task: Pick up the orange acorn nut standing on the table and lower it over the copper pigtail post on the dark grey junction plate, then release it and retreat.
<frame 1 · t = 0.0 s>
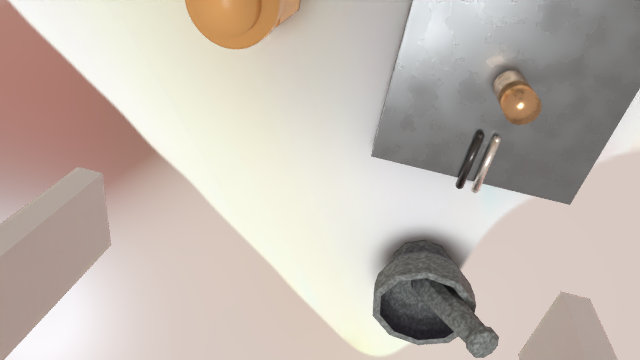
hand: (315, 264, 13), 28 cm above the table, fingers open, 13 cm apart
junction plate: (504, 77, 36), on the table
mortar and pestle: (427, 260, 47), on the table
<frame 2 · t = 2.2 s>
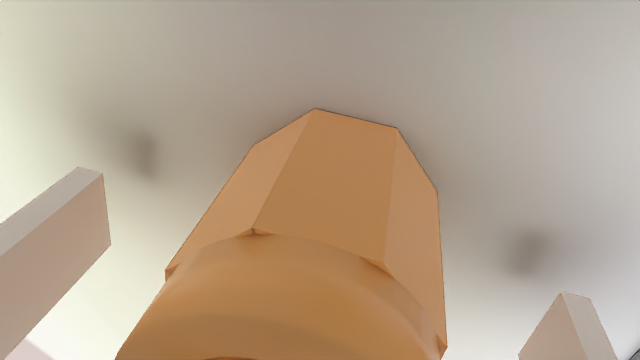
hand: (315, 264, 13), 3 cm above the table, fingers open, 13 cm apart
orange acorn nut: (336, 199, 15), on the table
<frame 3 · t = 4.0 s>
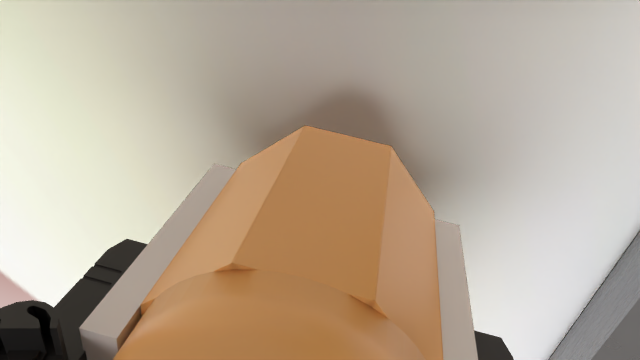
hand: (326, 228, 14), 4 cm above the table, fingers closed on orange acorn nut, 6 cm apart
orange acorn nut: (328, 218, 14), point 4 cm above the table, touching gripper
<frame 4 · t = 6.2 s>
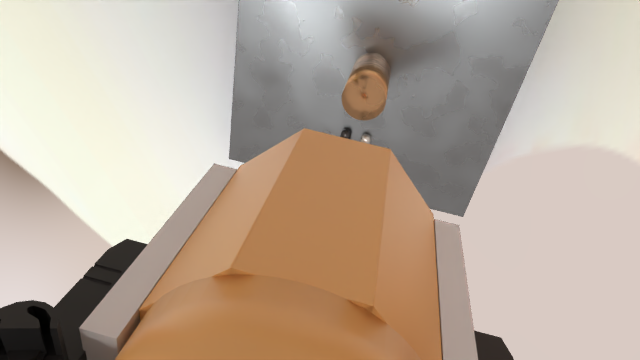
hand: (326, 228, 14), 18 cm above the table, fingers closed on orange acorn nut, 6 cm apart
junction plate: (374, 62, 29), on the table
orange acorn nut: (328, 221, 14), point 18 cm above the table, touching gripper
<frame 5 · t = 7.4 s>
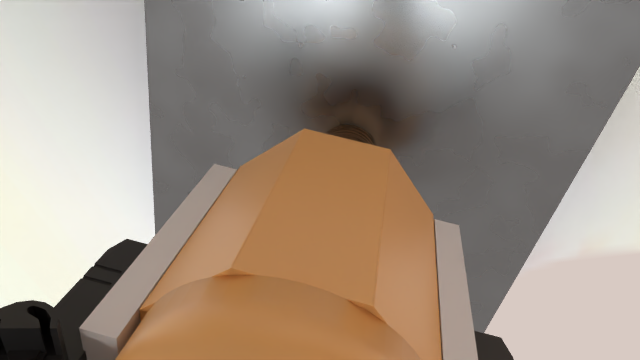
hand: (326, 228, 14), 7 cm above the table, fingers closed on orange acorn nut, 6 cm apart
junction plate: (353, 131, 20), on the table
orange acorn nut: (328, 221, 14), point 7 cm above the table, touching gripper
when the fingers open (3 cm above the table, at t = 8.5 s): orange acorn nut stays where it is, resting on junction plate.
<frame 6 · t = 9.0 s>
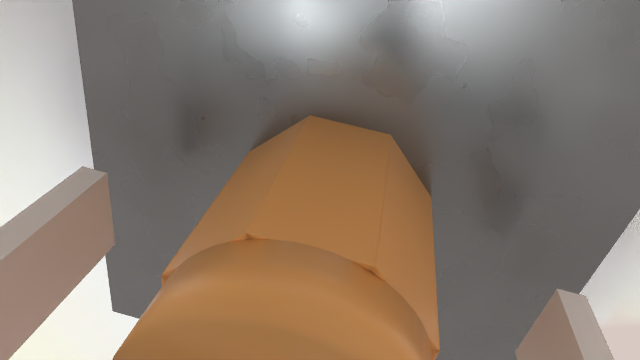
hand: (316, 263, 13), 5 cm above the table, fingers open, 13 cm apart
junction plate: (340, 177, 17), on the table
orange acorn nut: (331, 204, 15), point 2 cm above the table, touching junction plate
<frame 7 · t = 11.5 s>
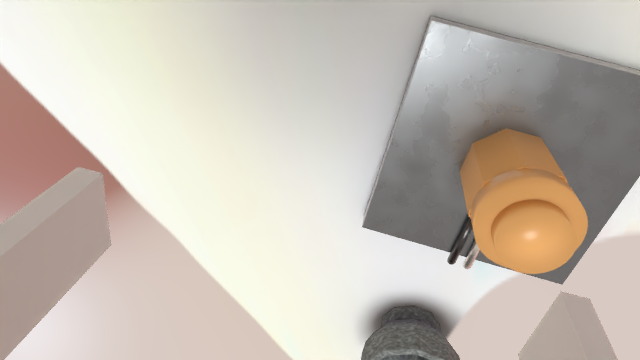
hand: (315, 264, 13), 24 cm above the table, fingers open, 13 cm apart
junction plate: (500, 157, 35), on the table
mortar and pestle: (416, 324, 46), on the table
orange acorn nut: (505, 168, 33), point 2 cm above the table, touching junction plate
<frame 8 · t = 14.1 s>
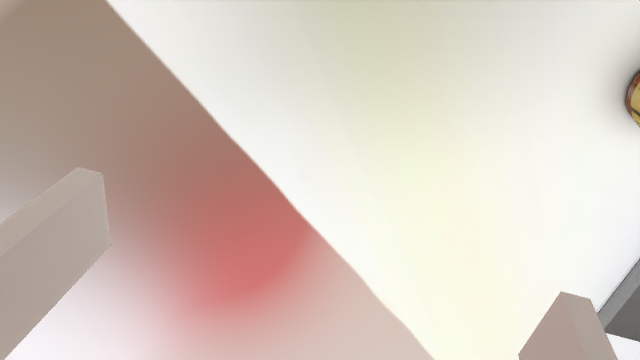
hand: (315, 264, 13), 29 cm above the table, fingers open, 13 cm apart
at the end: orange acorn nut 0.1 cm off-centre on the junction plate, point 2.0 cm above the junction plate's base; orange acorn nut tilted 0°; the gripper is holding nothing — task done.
